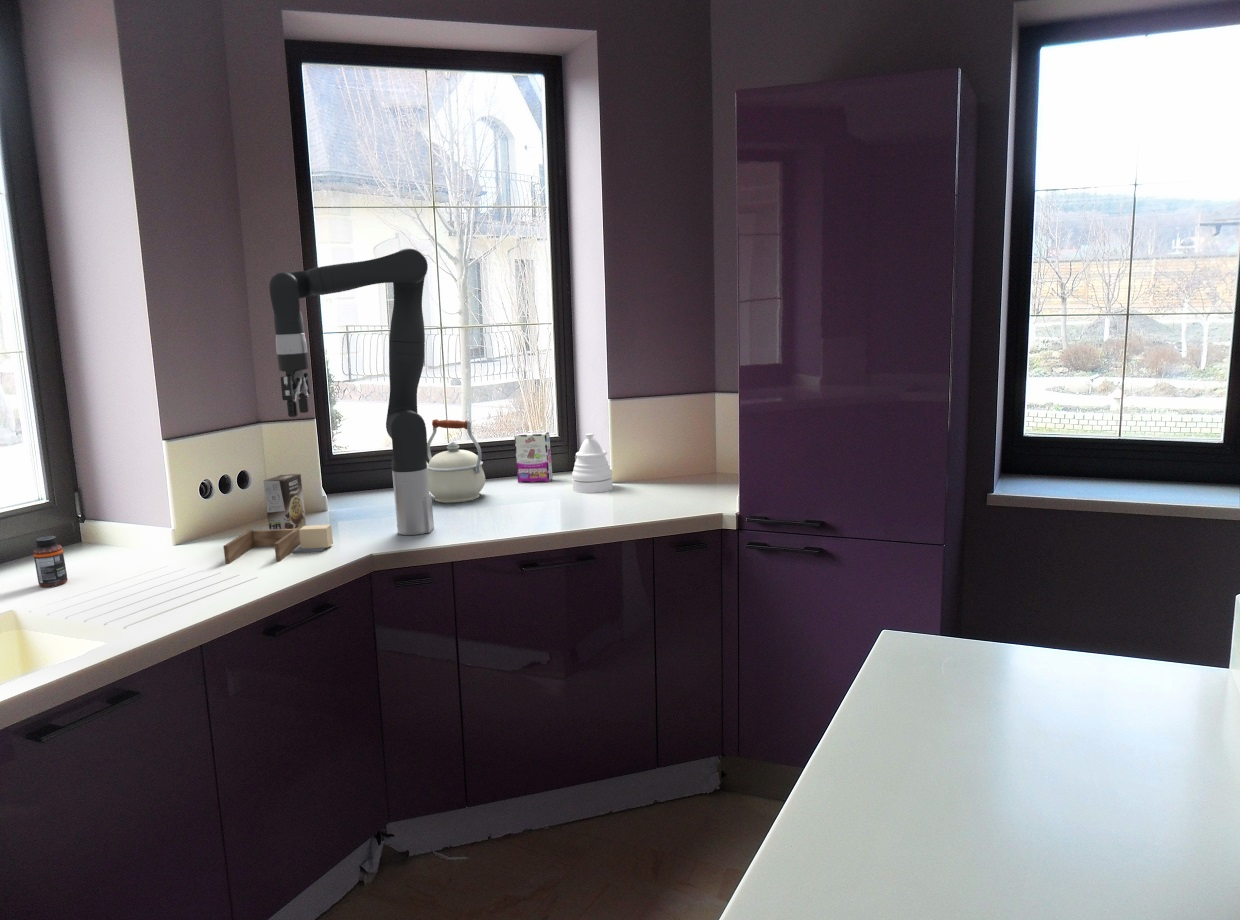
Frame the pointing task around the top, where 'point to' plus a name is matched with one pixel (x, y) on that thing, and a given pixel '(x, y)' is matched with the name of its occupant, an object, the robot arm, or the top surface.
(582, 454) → the honey pot
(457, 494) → the kettle
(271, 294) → the robot arm
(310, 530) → the block
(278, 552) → the shelf bay
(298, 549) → the slate pad
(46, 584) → the supplement bottle
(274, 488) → the coffee box
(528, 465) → the candy bar box
